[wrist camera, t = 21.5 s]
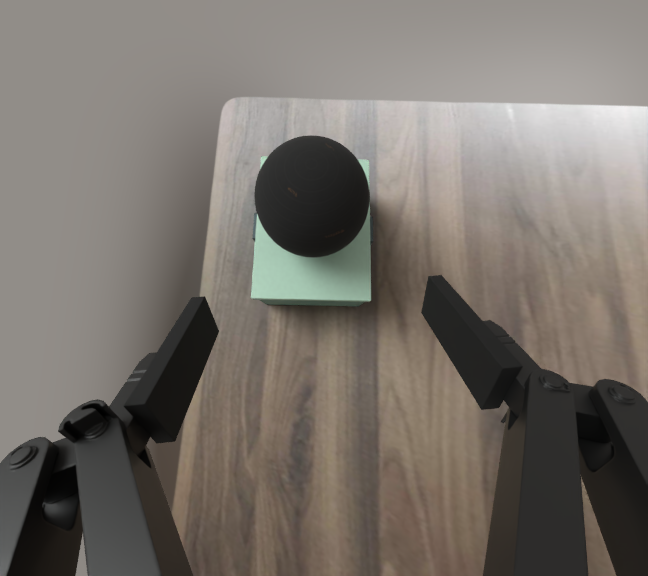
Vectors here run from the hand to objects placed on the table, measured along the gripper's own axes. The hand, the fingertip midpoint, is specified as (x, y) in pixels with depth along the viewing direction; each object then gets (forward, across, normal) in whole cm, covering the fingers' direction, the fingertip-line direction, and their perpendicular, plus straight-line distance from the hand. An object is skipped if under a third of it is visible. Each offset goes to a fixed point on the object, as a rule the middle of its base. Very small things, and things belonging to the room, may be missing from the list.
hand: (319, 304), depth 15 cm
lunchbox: (+20, 0, -5) cm, 20 cm away
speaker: (+15, 0, 0) cm, 15 cm away
